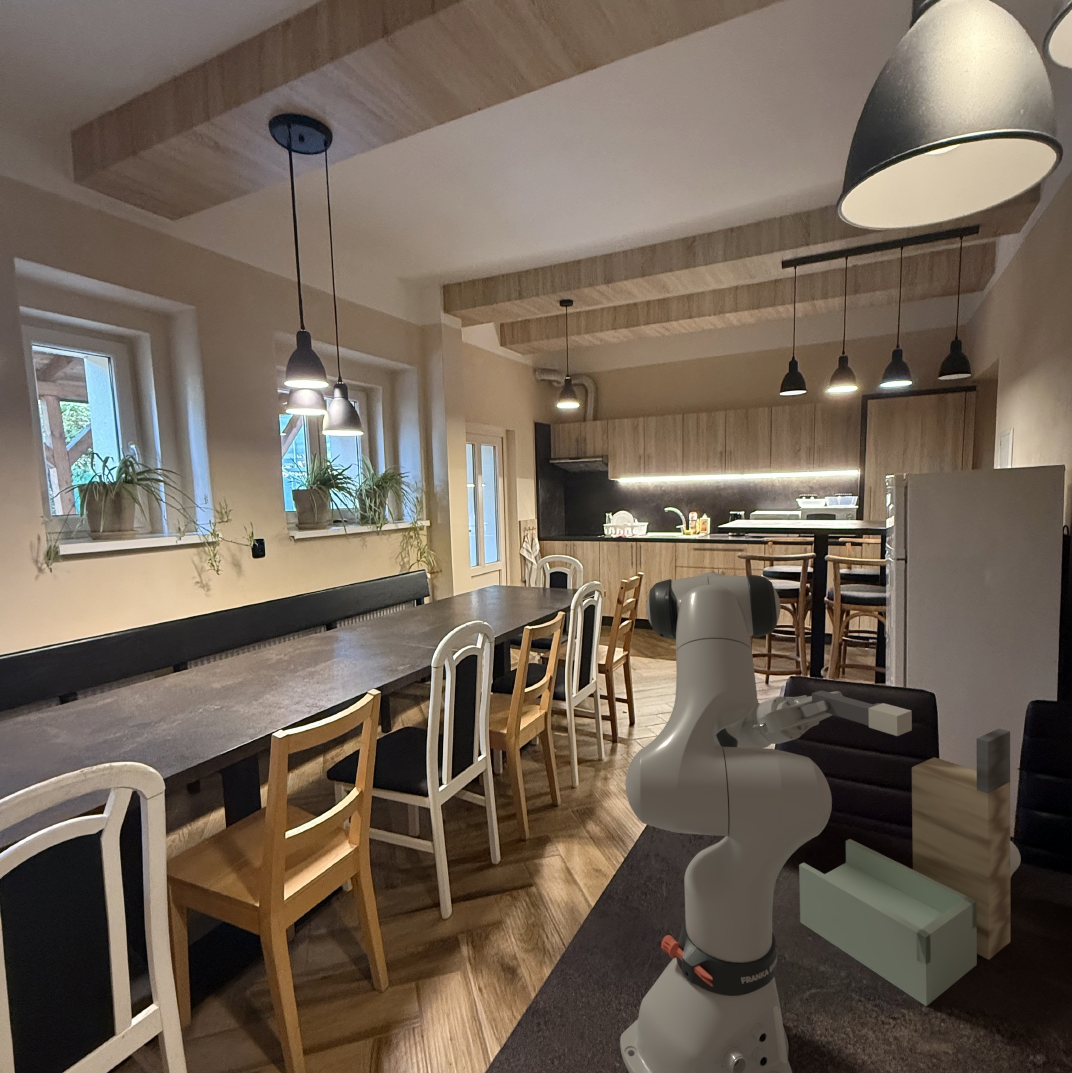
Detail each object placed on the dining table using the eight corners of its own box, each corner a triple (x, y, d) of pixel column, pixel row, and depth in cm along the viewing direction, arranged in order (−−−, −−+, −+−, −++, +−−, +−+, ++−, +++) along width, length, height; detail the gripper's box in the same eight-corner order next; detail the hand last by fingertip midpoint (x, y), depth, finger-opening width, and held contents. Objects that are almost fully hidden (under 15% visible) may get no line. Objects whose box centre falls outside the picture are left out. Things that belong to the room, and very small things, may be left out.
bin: (926, 1006, 83) (925, 937, 83) (800, 922, 100) (799, 864, 100) (976, 964, 90) (976, 900, 89) (850, 892, 107) (849, 838, 107)
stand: (988, 959, 91) (987, 741, 89) (913, 917, 100) (911, 720, 99) (1010, 941, 94) (1010, 731, 92) (935, 902, 104) (934, 711, 102)
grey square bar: (897, 736, 102) (897, 716, 102) (809, 709, 117) (809, 691, 116) (911, 730, 104) (911, 710, 104) (824, 704, 119) (823, 687, 119)
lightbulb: (1028, 910, 101) (1028, 847, 100) (988, 906, 102) (987, 844, 102) (1008, 887, 107) (1008, 827, 106) (969, 884, 108) (969, 825, 108)
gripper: (741, 714, 121) (791, 696, 111) (805, 695, 131) (857, 676, 121) (754, 745, 119) (807, 730, 108) (819, 723, 129) (873, 707, 118)
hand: (834, 702), depth 114 cm, fingers closed on grey square bar, 3 cm apart
